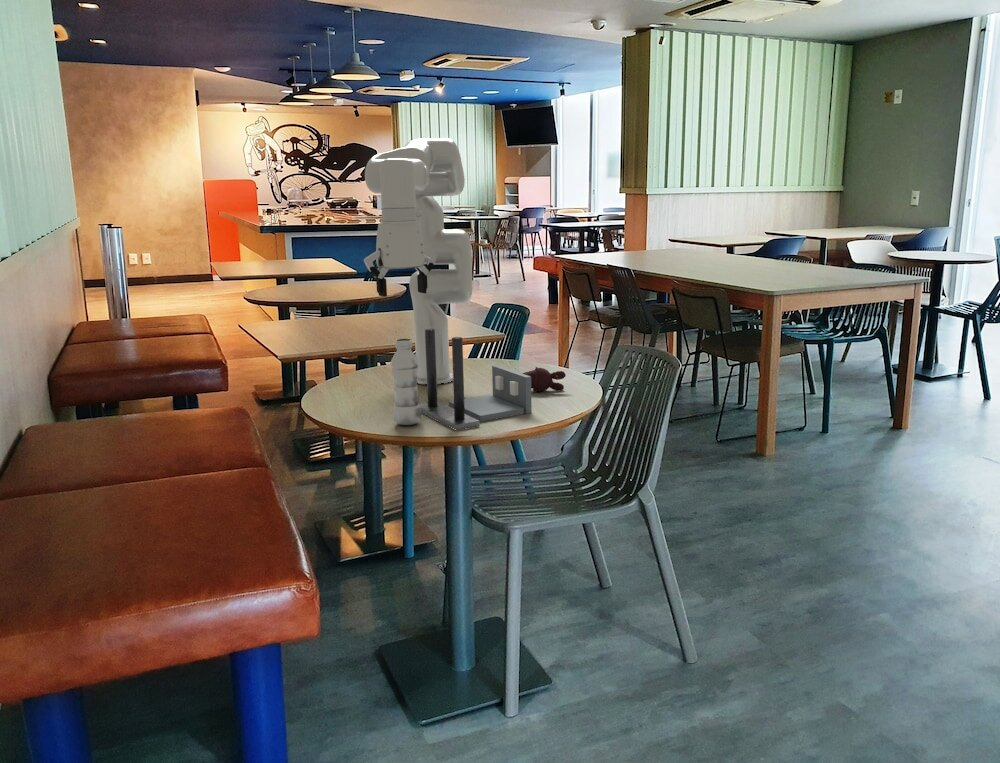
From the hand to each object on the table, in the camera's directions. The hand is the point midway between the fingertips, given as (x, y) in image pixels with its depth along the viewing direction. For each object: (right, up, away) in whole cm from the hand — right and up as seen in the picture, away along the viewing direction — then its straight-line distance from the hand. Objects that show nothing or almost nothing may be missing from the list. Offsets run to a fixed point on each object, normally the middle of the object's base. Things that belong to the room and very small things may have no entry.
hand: (402, 294), depth 179 cm
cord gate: (+9, -28, +12) cm, 32 cm away
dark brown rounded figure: (+32, -22, +36) cm, 53 cm away
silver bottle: (0, -30, +7) cm, 31 cm away
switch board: (+19, -27, +18) cm, 37 cm away
